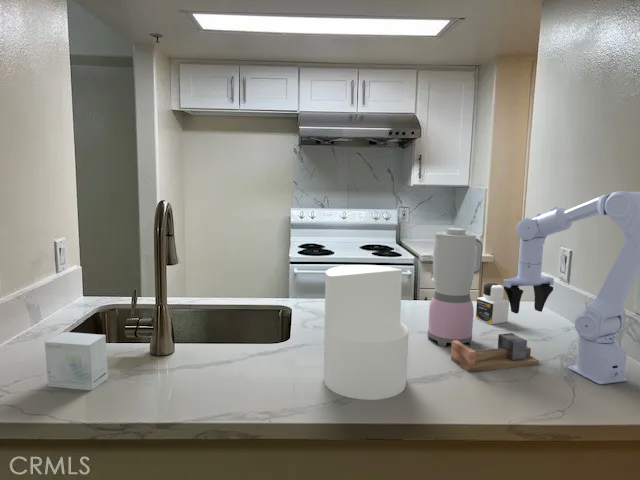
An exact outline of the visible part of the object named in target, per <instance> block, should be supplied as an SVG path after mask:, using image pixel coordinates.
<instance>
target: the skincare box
mask: <svg viewBox="0 0 640 480" xmlns="http://www.w3.org/2000/svg"><path fill="white" fill-rule="evenodd" d="M106 336H107V335H106V334H96V333H83V332H70V331H63V332H60V333H58V334H57V335H55V336H53V337H50V338H49V339H47V340H46V341H44V351H45V361H46V377H47V387H52V388H61V389H70V390H80V391H81V390H82V391H93V390H94V389H96V388H97V387H98V386H100V385H101V384H103V382H105V381H107V380H108V379H109V375H108V361H107V339H106V338H107V337H106Z"/></svg>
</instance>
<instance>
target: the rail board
mask: <svg viewBox="0 0 640 480" xmlns="http://www.w3.org/2000/svg"><path fill="white" fill-rule="evenodd" d="M450 351H451V352H450V360H451V361H452V362H454V363H455V364H457V365H458V366H460V367H461V368H462V369H463V370H465V371H467V373H472V372H473V373H474V372H482V371H488V370H489V371H490V370H499V369H508V368H509V369H510V368H516V367H517V368H518V367H526V366H527V367H528V366H534V365H539V361H540V360H538V359H537V358H535V357H533V356H531V353H532V352H531V351H532V348H531V347H529V346H527V349H526V359H518V360H511V359H509V358H508V351H509V350H507V349H506V348H498V347H497V348H490V349H481V350H479V349H478V350H475V349H472V348H470V347H469V346H468V345H465V343H461V342H459V341H458V340H454V341H452V343H451V350H450Z"/></svg>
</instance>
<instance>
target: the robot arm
mask: <svg viewBox="0 0 640 480" xmlns="http://www.w3.org/2000/svg"><path fill="white" fill-rule="evenodd" d="M598 215H599V216H600V215H601V216H608V217H609V219H611V220H612V221H613V223H615V224H616V225H617V226H618V227H619V228H620V229H621V230H622V232H623V235H625V240H624V241H623V242H624V243H623V245H622V246H621V248H620V250H619V252H618V254H617V256H616V259H615V260H614V262H613V264H612V266H611V268H610V270H609V272H608V274H607V276H606V278H605V280H604V282H603V284H602V286H601V288H600V290H599V292H598V294H597V296H596V297H595V299H593V300H591V302H590V303H588V304H587V305H586V306H585V308H584V310H583V311H582V312H581V313H579V314H578V315H576V317H575V320H574V328H575V330H576V332H577V333H578V338H579V342H578V350H577V351H578V352H577V361H576V365H575V364H574V365H569V366H567V369H568V370H570V371H572V372H575V373H576V374H578V375H580V376H582V377H584V378H586V379H589V380H590V381H592V382H594V383H596V384H598V385H606V384H613V383H622V382H625V381H626V382H627V378H626V377H625V372H626V371H625V369H626V361H627V354H626V353H627V352H626V351H625V349H624V348H623V347H622V346H619V344H618V343H617V342H616V338H617V336H616V335H617V334H618V333H619V332H620V331H621V330H622V329H623V326H624V325H623V324H624V323H623V322H624V320H623V319H624V315H625V314H626V309H625V308H624V307H623V306H624V304H625V303H626V300H627V298H628V297H629V294H630V292H631V291H632V289H633V287H634V285H635V283H636V282H637V279H638V277H639V276H640V191H639V190H638V191H623V190H621V191H620V190H619V191H615V192H612V193H608V194H603V195H601V196H598V197H596V198H593V199H591V200H589V201H586V202H584V203H583V202H582V203H581V204H579V205H577V206H574V207H571V208H569V209H565V208H564V207H558V206H554V207H551V208H549V211H546V212H544V213H537V214H534V217H533V218H529V217H524V218H522V219H521V220H519V221H518V223H517V224H516V228H515V231H516V234H517V236H518V238H520V239H519V240H520V241H519V251H518V252H519V253H518V266H517V268H518V269H517V275H516V276H515V277H511V278H503V285H502V286H503V287H504V292H505V293H506V296H507V298H508V299H507V300H508V301H509V306H510V307H509V308H510V311H511V313H514V314H519V312H520V306H521V299H522V296H523V294H524V290H523V289H520V287H529V286H532V287H533V292H534V302H533V303H534V305H533V307H534V310H535V311H537V312H540V313H541V312H543V309H544V308H545V303H546V301H547V300H548V298H549V296H550V295H551V294H552V292H553V291H554V287H553V286H554V282H555V281H554V280H555V279H554V277H551V276H542V267H543V266H542V264H543V254H544V253H543V252H544V245H545V241H546V239H547V237H548V236H551V235H554V234H556V233H560V232H563V231H566V230H569V229H570V228H571V226H572V225H573V223H574V222H575V223H576V222H578V221H581V220H586V219H588V218H591V217H596V216H598Z"/></svg>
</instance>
